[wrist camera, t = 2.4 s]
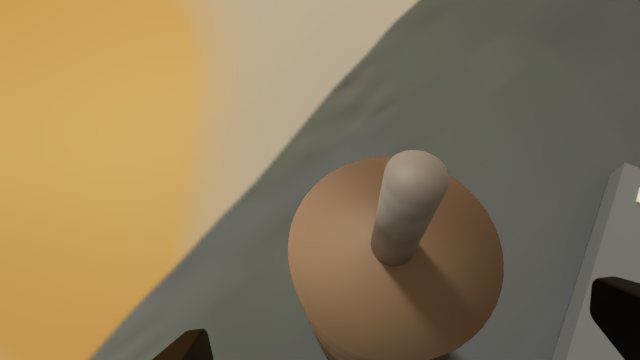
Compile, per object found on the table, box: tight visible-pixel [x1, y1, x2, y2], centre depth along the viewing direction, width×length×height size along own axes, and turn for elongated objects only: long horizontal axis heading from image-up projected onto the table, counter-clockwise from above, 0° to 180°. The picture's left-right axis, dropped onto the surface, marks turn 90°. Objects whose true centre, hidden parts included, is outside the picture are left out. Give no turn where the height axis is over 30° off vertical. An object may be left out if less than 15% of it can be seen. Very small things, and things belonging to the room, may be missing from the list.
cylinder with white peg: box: [288, 150, 504, 360], centre depth 11 cm, size 5×5×13 cm
